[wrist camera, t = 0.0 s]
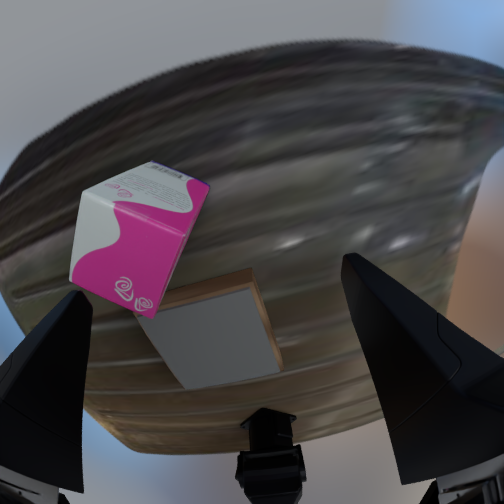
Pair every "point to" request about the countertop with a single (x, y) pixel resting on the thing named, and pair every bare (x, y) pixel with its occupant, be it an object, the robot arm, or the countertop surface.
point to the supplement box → (135, 234)
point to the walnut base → (214, 332)
